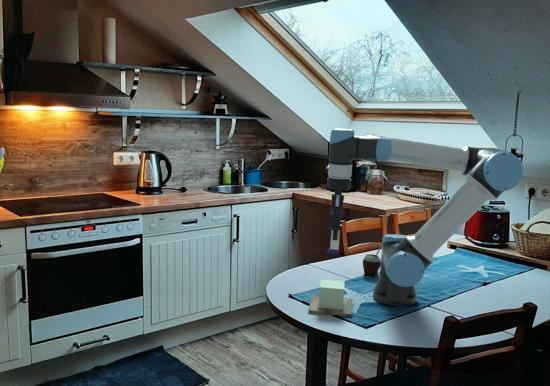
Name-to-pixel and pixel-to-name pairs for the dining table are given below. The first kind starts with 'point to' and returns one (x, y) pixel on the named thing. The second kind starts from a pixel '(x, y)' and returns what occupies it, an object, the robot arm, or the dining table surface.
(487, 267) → the dining table surface
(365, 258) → the mate gourd
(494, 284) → the dining table surface
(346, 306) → the walnut board
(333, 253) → the toy lamp
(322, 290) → the sage block
